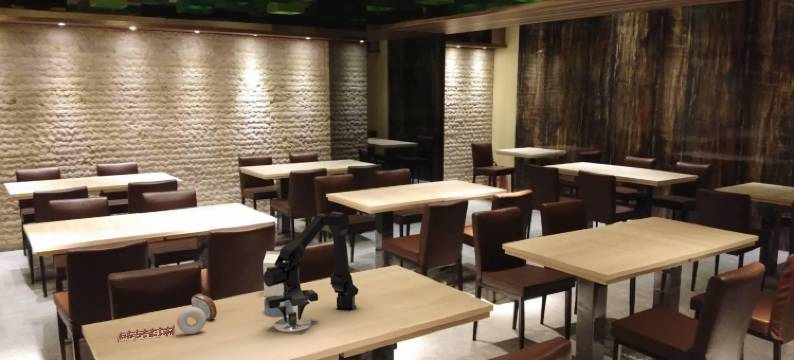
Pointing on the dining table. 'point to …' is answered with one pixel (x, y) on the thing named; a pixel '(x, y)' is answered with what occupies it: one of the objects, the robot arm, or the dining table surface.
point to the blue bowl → (275, 311)
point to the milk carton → (267, 262)
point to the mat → (293, 332)
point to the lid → (292, 324)
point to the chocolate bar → (148, 333)
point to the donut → (188, 313)
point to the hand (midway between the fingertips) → (292, 321)
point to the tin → (204, 305)
